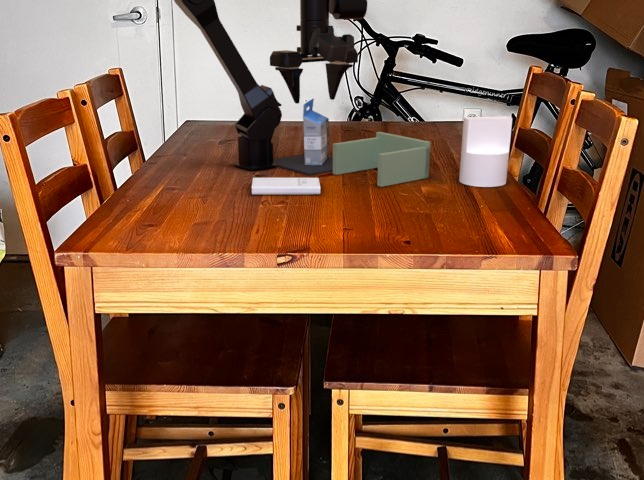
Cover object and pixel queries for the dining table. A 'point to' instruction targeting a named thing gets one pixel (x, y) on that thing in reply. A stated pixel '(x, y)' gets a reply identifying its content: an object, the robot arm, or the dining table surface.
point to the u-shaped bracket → (384, 158)
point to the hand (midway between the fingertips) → (314, 101)
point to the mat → (303, 165)
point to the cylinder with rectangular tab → (485, 151)
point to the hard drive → (285, 186)
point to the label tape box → (315, 136)
